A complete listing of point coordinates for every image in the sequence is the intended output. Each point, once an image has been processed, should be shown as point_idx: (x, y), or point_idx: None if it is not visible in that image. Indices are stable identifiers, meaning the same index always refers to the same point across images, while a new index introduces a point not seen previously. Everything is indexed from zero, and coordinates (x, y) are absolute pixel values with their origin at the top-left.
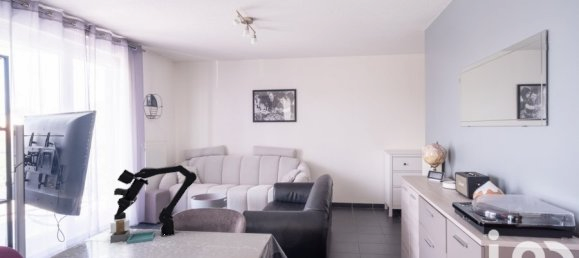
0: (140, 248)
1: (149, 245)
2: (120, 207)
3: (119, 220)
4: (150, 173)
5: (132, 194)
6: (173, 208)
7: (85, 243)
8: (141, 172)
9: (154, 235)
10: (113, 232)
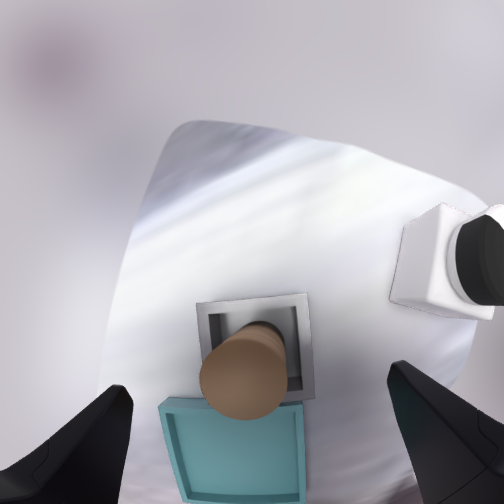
0: (129, 452)
1: (159, 480)
2: (42, 486)
3: (276, 365)
4: None
5: None
6: None
7: (281, 144)
8: None
9: (274, 498)
10: (406, 242)
